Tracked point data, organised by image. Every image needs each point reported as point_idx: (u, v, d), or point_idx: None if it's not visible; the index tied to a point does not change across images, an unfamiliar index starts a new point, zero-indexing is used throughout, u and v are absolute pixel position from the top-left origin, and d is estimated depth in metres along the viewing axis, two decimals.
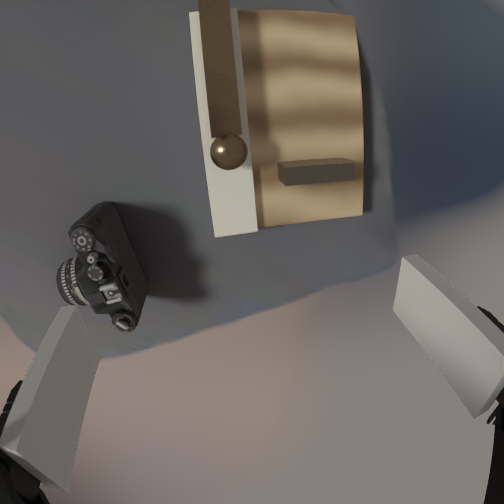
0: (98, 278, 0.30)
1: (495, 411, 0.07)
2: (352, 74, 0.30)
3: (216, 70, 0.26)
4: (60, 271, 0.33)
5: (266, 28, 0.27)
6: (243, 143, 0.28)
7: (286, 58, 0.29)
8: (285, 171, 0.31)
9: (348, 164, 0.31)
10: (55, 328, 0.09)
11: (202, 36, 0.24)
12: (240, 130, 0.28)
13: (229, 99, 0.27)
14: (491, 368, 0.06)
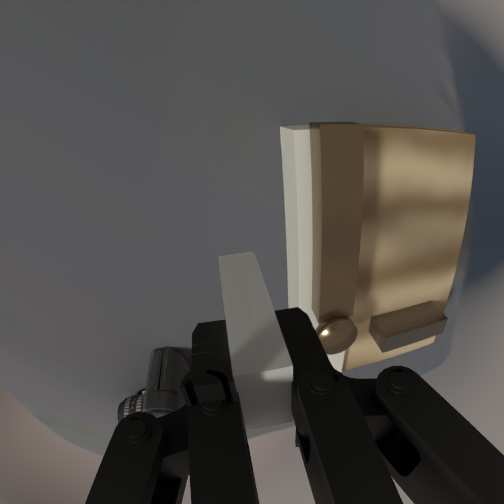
0: None
1: (296, 435, 0.08)
2: (461, 212, 0.25)
3: (337, 244, 0.21)
4: None
5: (389, 157, 0.22)
6: (355, 329, 0.24)
7: (404, 200, 0.24)
8: (386, 341, 0.26)
9: (442, 321, 0.27)
10: (229, 271, 0.12)
11: (323, 192, 0.19)
12: (352, 311, 0.24)
13: (346, 280, 0.22)
14: None
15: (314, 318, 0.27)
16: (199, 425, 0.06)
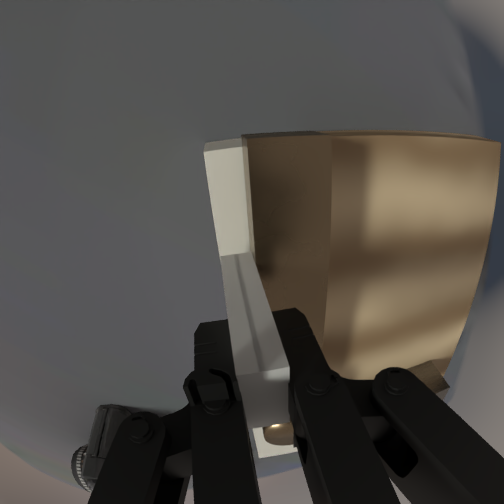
0: None
1: (293, 436, 0.08)
2: (478, 251, 0.18)
3: None
4: (75, 469, 0.22)
5: (373, 182, 0.15)
6: None
7: (398, 243, 0.16)
8: None
9: (442, 391, 0.19)
10: (230, 271, 0.12)
11: (257, 255, 0.12)
12: None
13: None
14: None
15: None
16: (202, 425, 0.06)
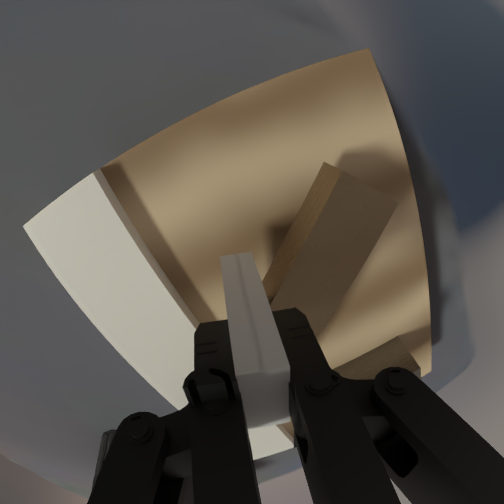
0: None
1: (294, 436, 0.08)
2: (399, 196, 0.15)
3: None
4: None
5: (182, 179, 0.13)
6: None
7: (255, 229, 0.15)
8: None
9: None
10: (230, 271, 0.12)
11: (292, 270, 0.12)
12: None
13: None
14: None
15: None
16: (202, 425, 0.06)
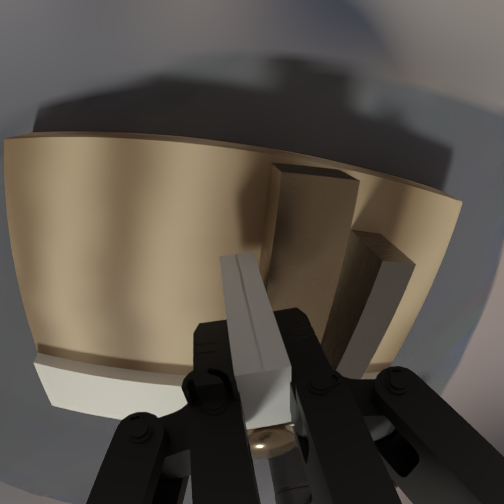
0: None
1: (295, 436, 0.08)
2: (145, 163, 0.13)
3: None
4: None
5: (57, 323, 0.16)
6: (293, 440, 0.17)
7: (110, 306, 0.15)
8: None
9: (379, 277, 0.13)
10: (229, 271, 0.12)
11: (270, 283, 0.12)
12: (292, 421, 0.17)
13: None
14: None
15: None
16: (200, 425, 0.06)
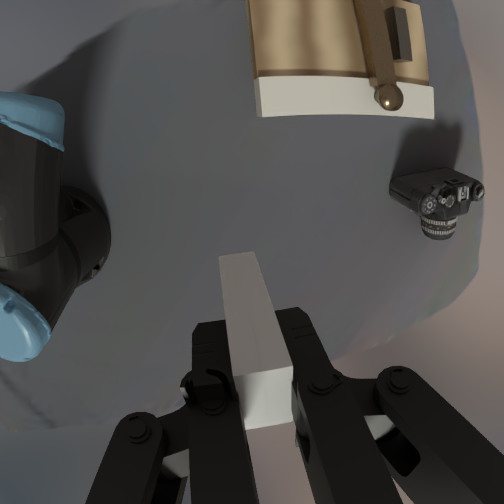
0: (453, 199, 0.37)
1: (296, 435, 0.08)
2: None
3: (377, 36, 0.28)
4: (431, 234, 0.44)
5: (274, 53, 0.31)
6: (400, 92, 0.31)
7: (303, 39, 0.31)
8: (403, 58, 0.30)
9: (395, 11, 0.27)
10: (228, 271, 0.12)
11: (364, 9, 0.27)
12: (395, 82, 0.31)
13: (387, 58, 0.30)
14: None
15: None
16: (199, 425, 0.06)
